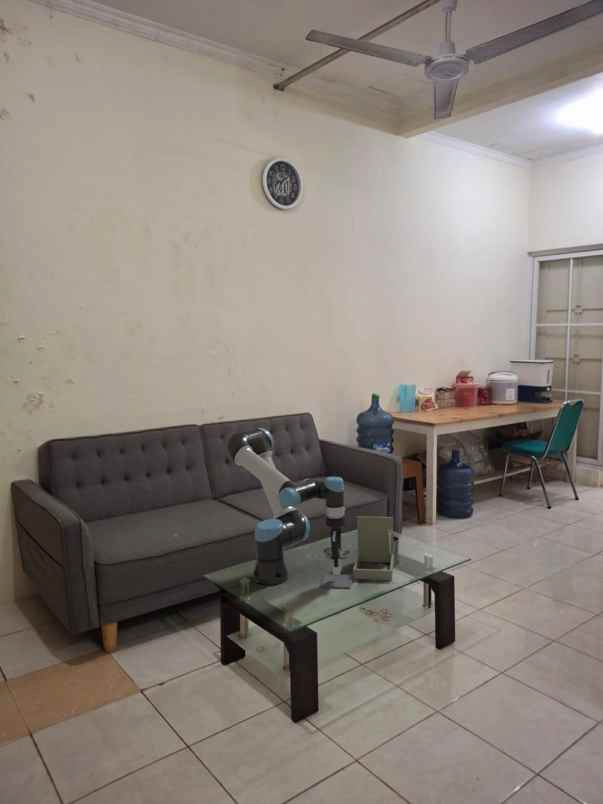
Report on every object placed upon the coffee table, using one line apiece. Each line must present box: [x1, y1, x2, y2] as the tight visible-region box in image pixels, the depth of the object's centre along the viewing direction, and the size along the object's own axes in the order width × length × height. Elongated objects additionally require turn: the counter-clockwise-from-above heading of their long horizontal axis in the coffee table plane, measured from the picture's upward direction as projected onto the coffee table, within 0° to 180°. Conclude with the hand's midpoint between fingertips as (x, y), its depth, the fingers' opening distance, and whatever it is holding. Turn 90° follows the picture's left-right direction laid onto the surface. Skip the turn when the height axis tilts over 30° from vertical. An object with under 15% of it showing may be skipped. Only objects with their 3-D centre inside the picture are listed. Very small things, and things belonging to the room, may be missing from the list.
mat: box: [319, 573, 354, 589], centre depth 239 cm, size 12×12×1 cm
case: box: [352, 515, 395, 581], centre depth 248 cm, size 16×20×20 cm
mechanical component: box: [323, 547, 350, 560], centre depth 238 cm, size 3×10×10 cm, turn 79°
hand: (337, 572), depth 238 cm, fingers closed on mechanical component, 3 cm apart
